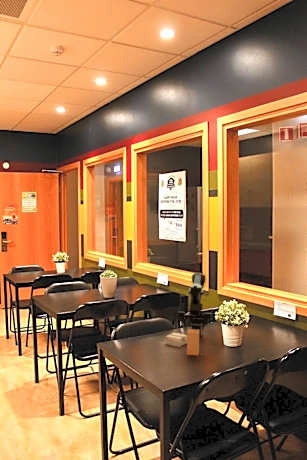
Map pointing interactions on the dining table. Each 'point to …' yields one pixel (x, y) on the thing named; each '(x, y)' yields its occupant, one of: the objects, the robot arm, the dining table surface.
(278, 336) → the dining table surface
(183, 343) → the tower base slab
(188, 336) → the orange pillar block
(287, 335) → the dining table surface
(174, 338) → the tower top slab
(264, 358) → the dining table surface
